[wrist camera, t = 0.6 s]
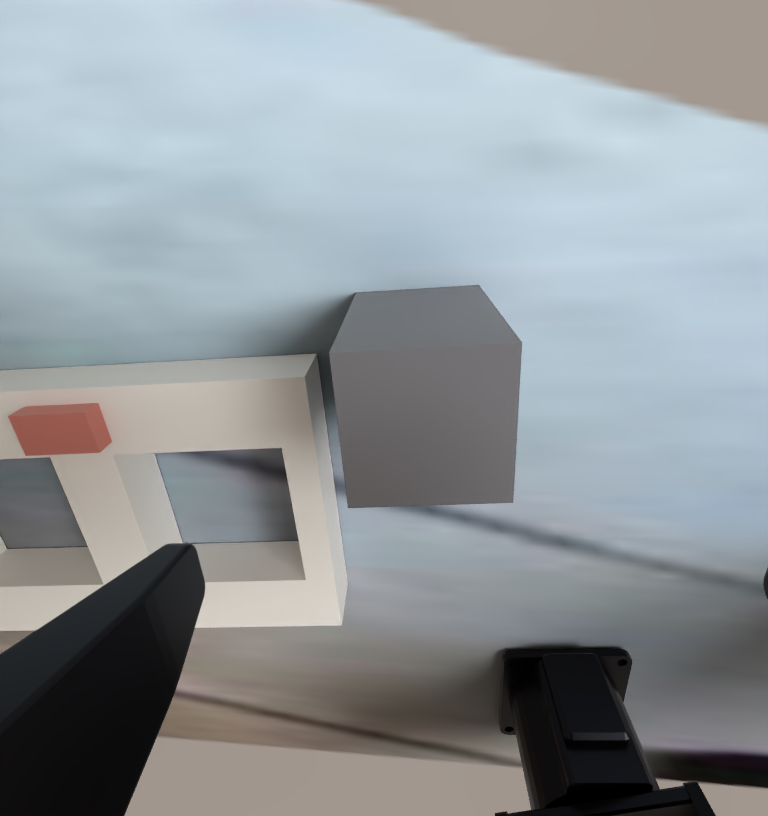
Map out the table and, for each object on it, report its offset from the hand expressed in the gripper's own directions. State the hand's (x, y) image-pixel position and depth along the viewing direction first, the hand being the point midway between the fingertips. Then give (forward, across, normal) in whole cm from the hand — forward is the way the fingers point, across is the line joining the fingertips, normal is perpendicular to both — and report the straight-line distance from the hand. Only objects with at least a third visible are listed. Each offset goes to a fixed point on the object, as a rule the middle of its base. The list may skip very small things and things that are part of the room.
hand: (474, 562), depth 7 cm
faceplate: (+12, +14, +6) cm, 19 cm away
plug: (+12, +1, 0) cm, 12 cm away
